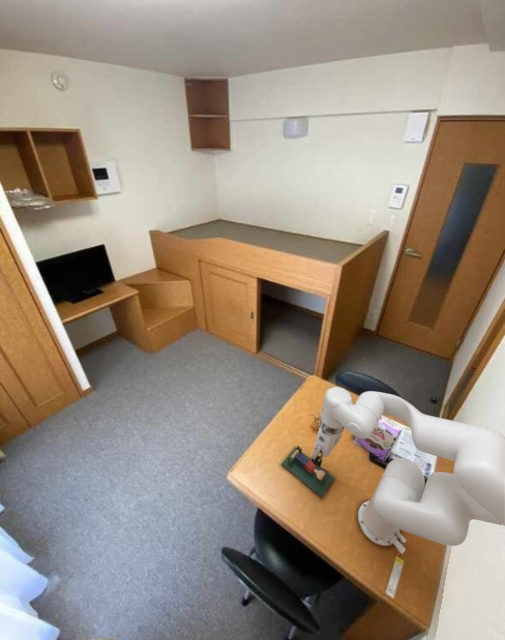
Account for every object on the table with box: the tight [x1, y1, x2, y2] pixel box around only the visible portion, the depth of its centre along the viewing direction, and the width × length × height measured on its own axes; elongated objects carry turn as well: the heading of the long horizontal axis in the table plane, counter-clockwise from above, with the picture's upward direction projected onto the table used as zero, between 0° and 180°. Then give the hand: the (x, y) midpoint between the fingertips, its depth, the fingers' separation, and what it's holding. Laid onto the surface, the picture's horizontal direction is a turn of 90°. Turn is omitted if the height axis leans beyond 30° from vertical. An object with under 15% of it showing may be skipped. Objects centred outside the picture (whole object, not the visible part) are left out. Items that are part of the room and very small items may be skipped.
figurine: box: [307, 411, 321, 430], centre depth 118 cm, size 8×6×12 cm
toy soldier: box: [291, 450, 329, 483], centre depth 103 cm, size 14×4×3 cm, turn 48°
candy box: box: [352, 414, 404, 463], centre depth 110 cm, size 14×6×16 cm, turn 42°
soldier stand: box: [281, 445, 335, 499], centre depth 104 cm, size 18×9×6 cm, turn 48°
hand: (323, 453), depth 95 cm, fingers open, 9 cm apart
